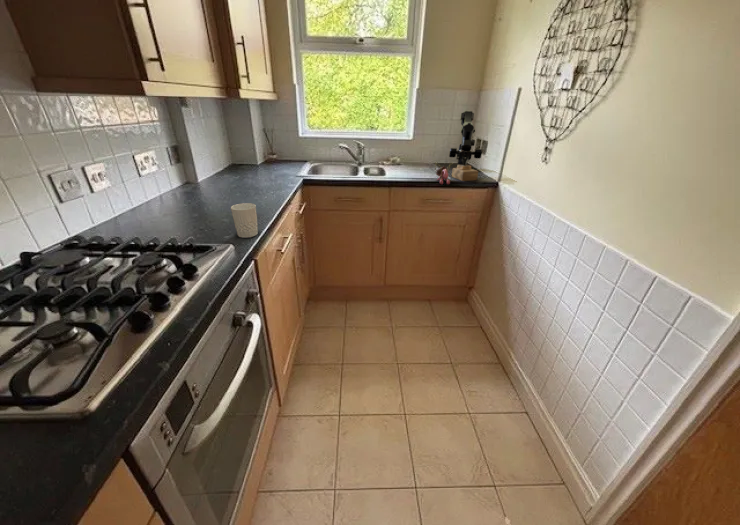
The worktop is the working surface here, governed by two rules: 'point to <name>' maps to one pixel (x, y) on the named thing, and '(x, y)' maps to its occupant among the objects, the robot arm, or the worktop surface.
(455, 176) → the tan stepped block
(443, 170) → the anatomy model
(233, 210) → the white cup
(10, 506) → the worktop surface
